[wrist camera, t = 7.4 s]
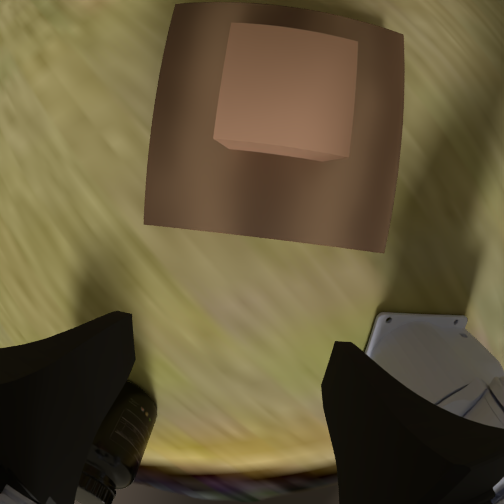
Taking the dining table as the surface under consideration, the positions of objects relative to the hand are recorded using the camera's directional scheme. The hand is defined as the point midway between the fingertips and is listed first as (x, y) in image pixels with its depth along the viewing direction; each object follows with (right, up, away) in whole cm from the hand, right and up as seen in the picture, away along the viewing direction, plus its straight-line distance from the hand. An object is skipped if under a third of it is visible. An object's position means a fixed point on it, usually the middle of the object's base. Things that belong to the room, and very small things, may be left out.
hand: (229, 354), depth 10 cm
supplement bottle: (-11, -11, +14) cm, 21 cm away
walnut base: (+2, +12, +7) cm, 14 cm away
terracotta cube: (+2, +11, +4) cm, 12 cm away
